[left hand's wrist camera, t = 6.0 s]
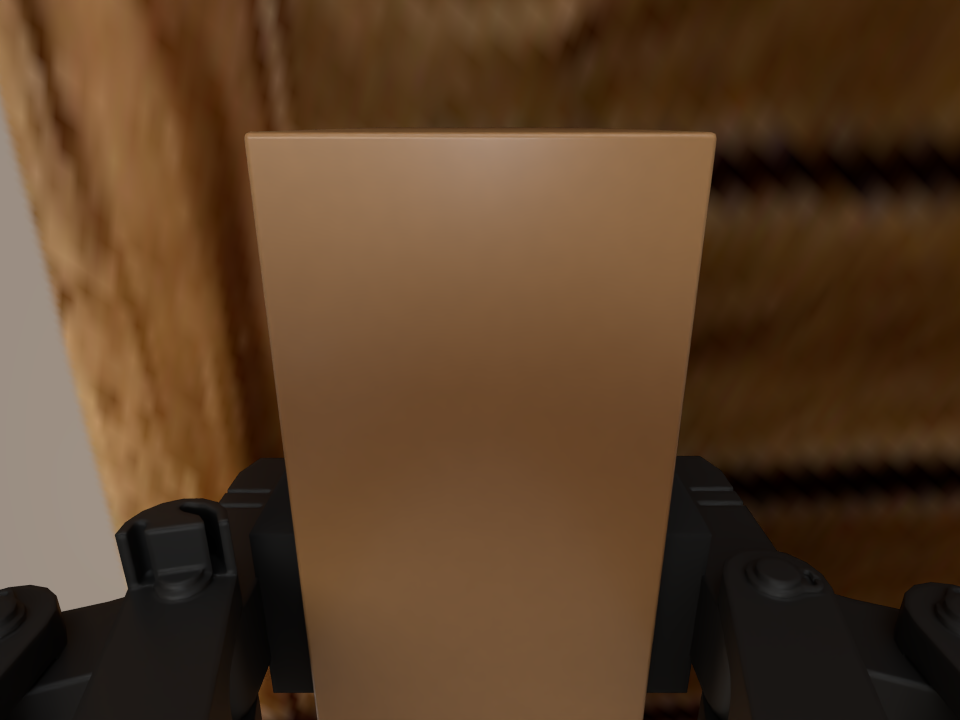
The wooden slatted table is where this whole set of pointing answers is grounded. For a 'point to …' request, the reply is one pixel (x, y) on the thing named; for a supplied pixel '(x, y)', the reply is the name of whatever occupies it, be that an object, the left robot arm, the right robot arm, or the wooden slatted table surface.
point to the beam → (480, 406)
